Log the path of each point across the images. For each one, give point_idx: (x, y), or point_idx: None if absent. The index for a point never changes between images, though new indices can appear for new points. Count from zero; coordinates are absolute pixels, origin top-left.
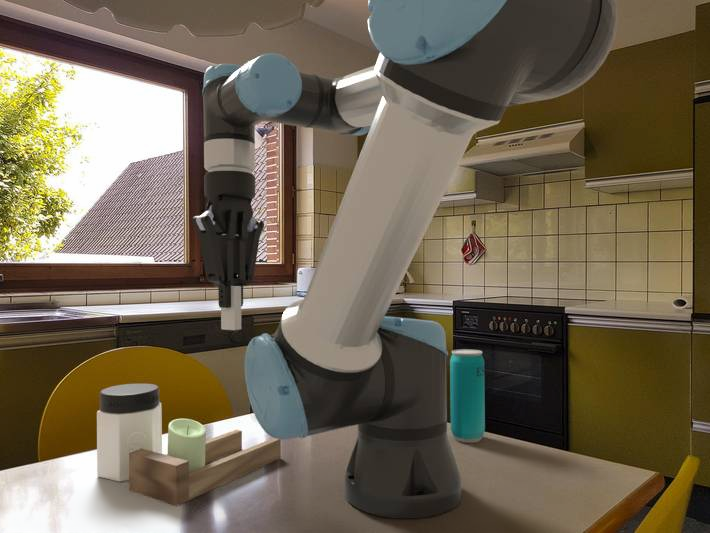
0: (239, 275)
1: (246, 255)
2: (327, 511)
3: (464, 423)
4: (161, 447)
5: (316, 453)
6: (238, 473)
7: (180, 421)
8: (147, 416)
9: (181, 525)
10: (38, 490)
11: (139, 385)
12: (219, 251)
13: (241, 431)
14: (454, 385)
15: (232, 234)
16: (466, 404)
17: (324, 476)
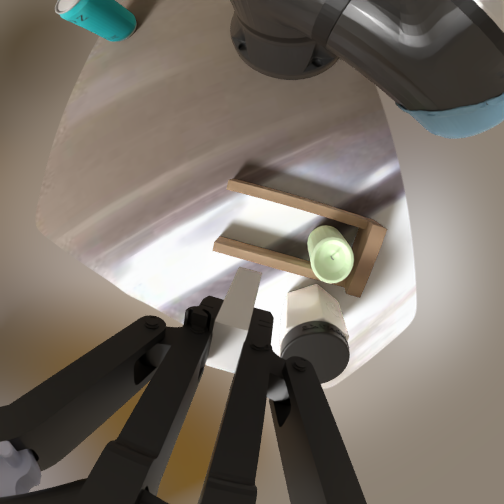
0: (204, 348)
1: (109, 392)
2: (348, 84)
3: (129, 18)
4: (289, 300)
5: (205, 146)
6: (301, 197)
7: (324, 276)
8: (327, 316)
9: (404, 196)
10: (361, 346)
11: None
12: (311, 445)
13: (215, 242)
14: (102, 14)
15: (229, 501)
16: (119, 9)
17: (270, 110)
